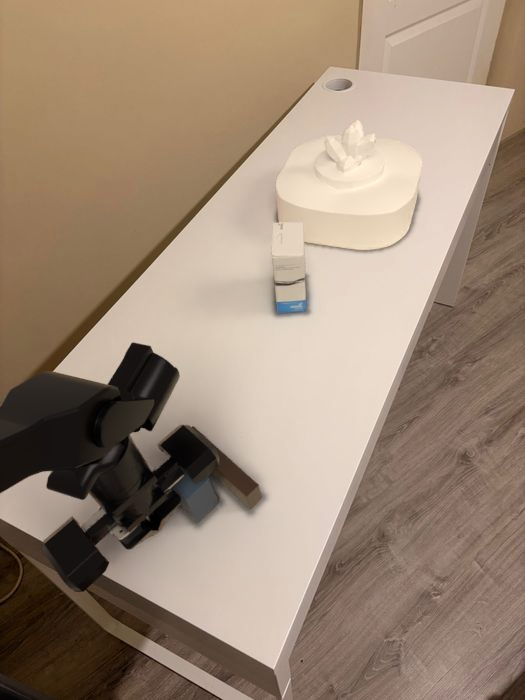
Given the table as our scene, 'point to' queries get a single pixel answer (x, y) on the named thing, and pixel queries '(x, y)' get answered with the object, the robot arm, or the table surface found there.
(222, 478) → the walnut rail
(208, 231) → the table surface
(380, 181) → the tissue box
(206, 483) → the slate block
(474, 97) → the table surface
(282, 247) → the ink box
